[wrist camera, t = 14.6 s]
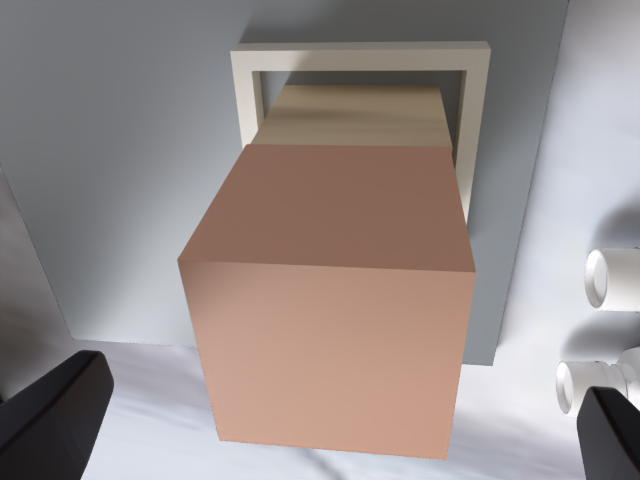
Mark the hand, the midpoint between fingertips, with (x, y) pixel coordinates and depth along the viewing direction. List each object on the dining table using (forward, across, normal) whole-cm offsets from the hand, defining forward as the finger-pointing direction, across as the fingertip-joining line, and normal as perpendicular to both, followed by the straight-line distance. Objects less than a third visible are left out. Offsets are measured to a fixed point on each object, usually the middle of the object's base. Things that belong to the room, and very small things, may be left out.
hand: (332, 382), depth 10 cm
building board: (+11, +4, 0) cm, 12 cm away
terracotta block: (+5, 0, 0) cm, 5 cm away
